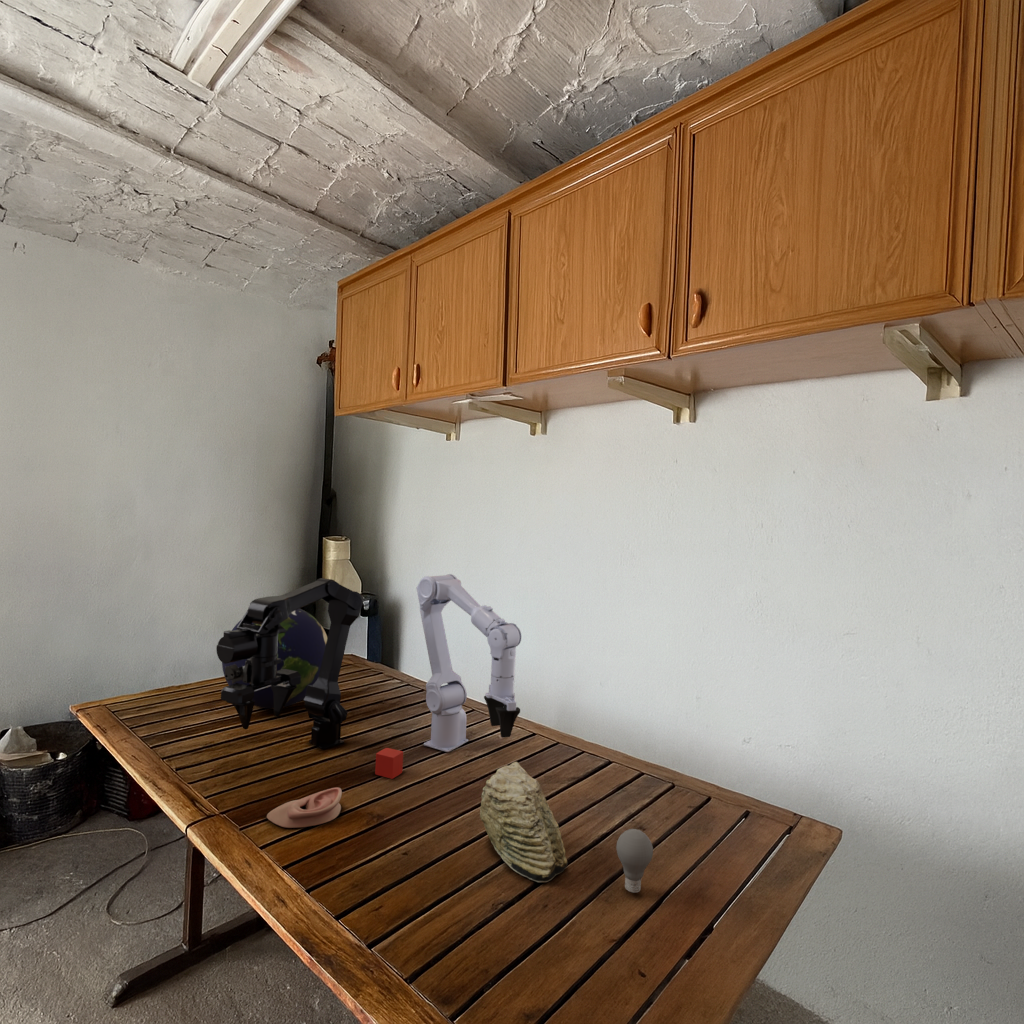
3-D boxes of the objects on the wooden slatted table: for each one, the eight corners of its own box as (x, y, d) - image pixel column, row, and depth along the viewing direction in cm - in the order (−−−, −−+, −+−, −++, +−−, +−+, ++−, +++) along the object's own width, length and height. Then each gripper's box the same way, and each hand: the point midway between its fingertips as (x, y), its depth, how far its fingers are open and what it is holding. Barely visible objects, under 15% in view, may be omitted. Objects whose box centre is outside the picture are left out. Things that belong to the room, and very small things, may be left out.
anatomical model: (258, 803, 122) (290, 777, 133) (257, 823, 122) (290, 796, 133) (321, 812, 119) (349, 786, 130) (320, 833, 119) (348, 805, 130)
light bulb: (610, 879, 108) (613, 822, 108) (644, 879, 109) (647, 822, 109) (619, 902, 102) (622, 840, 102) (655, 901, 103) (658, 840, 103)
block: (385, 768, 149) (386, 747, 149) (402, 772, 147) (403, 751, 147) (375, 774, 146) (375, 753, 145) (392, 779, 144) (393, 757, 143)
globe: (289, 685, 209) (292, 594, 208) (348, 705, 191) (352, 606, 191) (199, 706, 185) (203, 604, 184) (258, 732, 167) (262, 619, 167)
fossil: (501, 827, 124) (504, 751, 124) (575, 868, 111) (578, 784, 111) (467, 843, 118) (470, 763, 118) (541, 889, 105) (545, 799, 105)
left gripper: (268, 642, 156) (265, 705, 156) (203, 658, 139) (201, 728, 139) (303, 648, 152) (300, 713, 152) (241, 665, 134) (238, 738, 135)
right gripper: (478, 667, 158) (475, 721, 158) (496, 684, 144) (494, 743, 144) (504, 666, 160) (502, 719, 160) (525, 682, 147) (522, 740, 147)
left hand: (261, 722), depth 144 cm, fingers open, 9 cm apart
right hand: (500, 730), depth 153 cm, fingers open, 7 cm apart
